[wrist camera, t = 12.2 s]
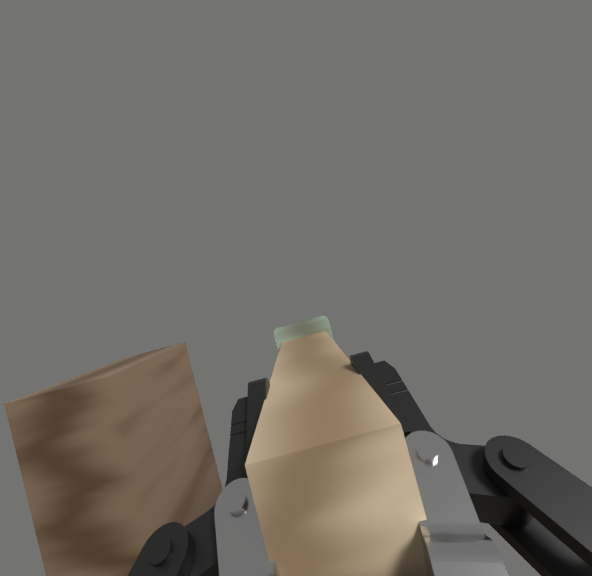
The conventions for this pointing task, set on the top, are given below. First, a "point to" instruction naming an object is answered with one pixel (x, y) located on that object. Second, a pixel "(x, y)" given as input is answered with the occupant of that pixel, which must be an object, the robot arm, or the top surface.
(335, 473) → the oak rail
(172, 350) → the walnut post
